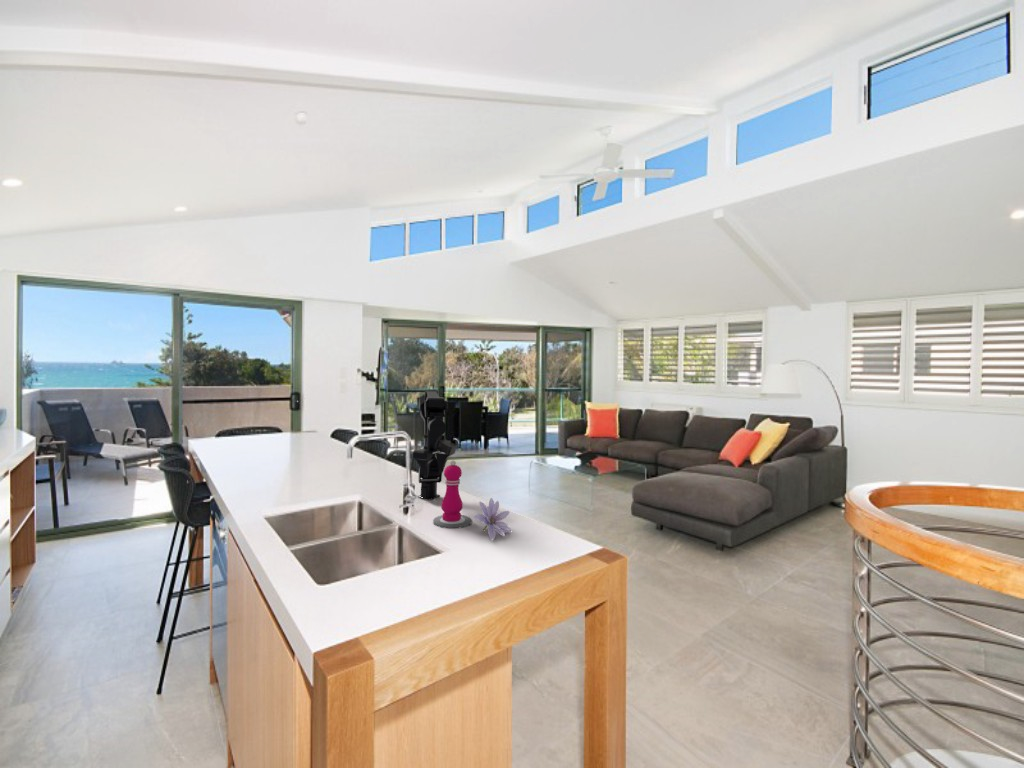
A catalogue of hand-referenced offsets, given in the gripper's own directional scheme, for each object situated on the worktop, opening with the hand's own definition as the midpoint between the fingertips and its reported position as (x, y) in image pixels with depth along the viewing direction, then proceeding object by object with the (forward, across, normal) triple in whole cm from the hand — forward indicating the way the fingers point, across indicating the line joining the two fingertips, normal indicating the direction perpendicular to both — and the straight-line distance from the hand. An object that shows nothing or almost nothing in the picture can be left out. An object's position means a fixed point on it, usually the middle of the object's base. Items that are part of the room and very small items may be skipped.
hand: (433, 475), depth 181 cm
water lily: (+13, -11, -31) cm, 35 cm away
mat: (+13, -7, -13) cm, 20 cm away
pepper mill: (+12, -6, -12) cm, 19 cm away
